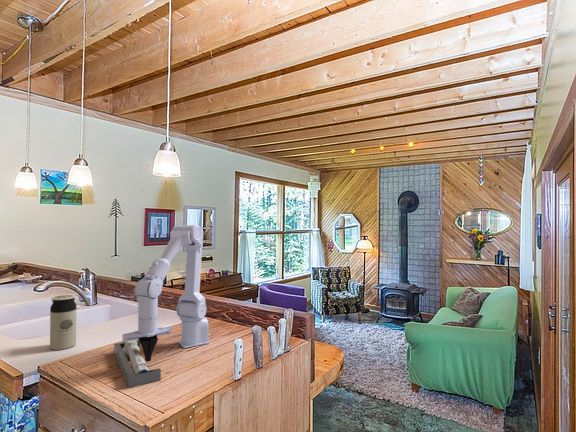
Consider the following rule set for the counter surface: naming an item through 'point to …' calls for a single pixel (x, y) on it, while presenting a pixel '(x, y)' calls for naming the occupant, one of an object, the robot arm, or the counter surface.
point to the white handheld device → (135, 356)
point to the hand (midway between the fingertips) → (147, 360)
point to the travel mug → (63, 322)
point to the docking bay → (128, 372)
